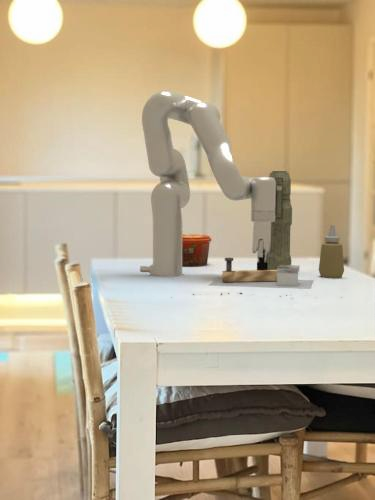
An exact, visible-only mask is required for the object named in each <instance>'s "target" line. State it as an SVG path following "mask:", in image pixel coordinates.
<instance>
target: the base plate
mask: <svg viewBox="0 0 375 500" xmlns="http://www.w3.org/2000/svg"><path fill="white" fill-rule="evenodd" d="M313 283H314V279H313V280H312V279H298V286H277V281H245V282H223V281H222V276H218V277H217V278H215V279H214V280H212V282H210V283H208V286H213V287H214V286H217V287H244V288H245V287H246V288H275V289H276V288H277V289H298V290H299V289H300V290H301V289H302V290H305V289H306V290H311V287H312V285H313Z"/></svg>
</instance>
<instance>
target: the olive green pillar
mask: <svg viewBox="0 0 375 500" xmlns="http://www.w3.org/2000/svg"><path fill="white" fill-rule="evenodd" d="M271 171H272V172H269V176H268V177H272V178H274V179H275V181H276V197H275V222H271V247H270V251H269V252H268V254H267V262H268V270H277V268H278V266H279V265H292V258H291V226H292V225H293V207H292V203H291V188H292V186H291V184H292V180H291V176H290V173H289V172H287V170H271Z"/></svg>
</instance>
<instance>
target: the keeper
mask: <svg viewBox="0 0 375 500" xmlns="http://www.w3.org/2000/svg"><path fill="white" fill-rule="evenodd" d="M299 271H300V265H297V264H296V265H293V264H291V265H279V266H278V268H277V286H298V280H299Z"/></svg>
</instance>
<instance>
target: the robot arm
mask: <svg viewBox="0 0 375 500" xmlns="http://www.w3.org/2000/svg"><path fill="white" fill-rule="evenodd" d="M141 114H142V115H141V124H142V131H143V136H144V142H145V143H144V144H145V150H146V156H147V162H148V167H149V170H150V172H151V173H152V175H154V176H156V177H159V180H160V182H159V183H158V184H156V185H155V186H154V187H153V190H152V192H151V195H150V204H151V212H152V213H151V214H152V264H150V266H146V265H145V266H143V265H141V266H140V267H139V271H140V273H149V274H148V276H149V277H151V276H152V277H153V276H154V277H155V276H156V277H166V278H167V277H168V278H170V277H181V276H185V274H183V266H182V235H183V215H182V214H183V213H182V209H183V208H185V207H186V206H187V205H188V203H189V201H190V198H191V188H190V182H189V177H188V170H187V165H186V161H185V158H184V156H183V155H182V153H181V152H180V151H179V150H177V149H176V148H174V146H173V140H172V133H171V130H170V127H169V124H168V123H169V120H170V119H171V120H175V121H179V122H181V123H185V124H187V125H189V126H191V127H192V128H191V129H192V130H193V132H194V133H195V135H196V138H197V139H198V142H199V143H200V145H201V146H202V147H201V148H202V149H203V150H204V152H205V154H206V157H207V160H208V163H209V166H210V170H211V172H212V174H213V176H214V177H213V178H215V180H216V182H217V184H218V187H219V188H220V189H221V191H222V193H223V194H224V196H225V197H226V198H227V199H229V200H230V201H243V200H250V201H251V202H250V203H251V204H250V221H251V222H253V229H252V231H253V232H252V248H251V249H252V251H251V252H252V253H253V254H256V253H257V254H256V255H257V256H256V257H257V258H256V259H257V261H256V270H268V262H267V254H268V252H269V251H270V247H271V222H275V197H276V181H275V179H274V178H272V177H269V176H255V177H251V176H246V175H245V176H244V175H241V173H240V171H239V169H238V168H237V165H236V163H235V162H234V161H235V160H234V159H233V156H232V142H231V140H230V138H229V136H228V134H227V132H226V130H225V129H224V127H223V125H222V123H221V113H220V111H219V109H218V107H217V106H216V105H214V104H212V103H211V102H207V101H206V102H205V101H203V100H199V99H196V98H194V97H190V96H187V95H185V94H181V93H179V92H174V91H172V90H161V91H158V92H156V93H154V94H152V95H151V96H150V97H149V98H148V99H147V101H146V102H145V104H144V106H143V109H142V111H141Z"/></svg>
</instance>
